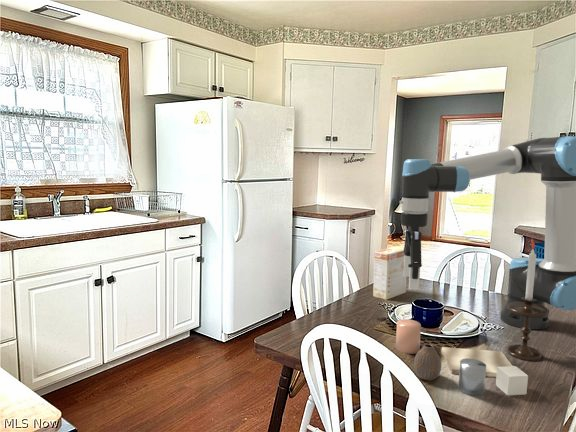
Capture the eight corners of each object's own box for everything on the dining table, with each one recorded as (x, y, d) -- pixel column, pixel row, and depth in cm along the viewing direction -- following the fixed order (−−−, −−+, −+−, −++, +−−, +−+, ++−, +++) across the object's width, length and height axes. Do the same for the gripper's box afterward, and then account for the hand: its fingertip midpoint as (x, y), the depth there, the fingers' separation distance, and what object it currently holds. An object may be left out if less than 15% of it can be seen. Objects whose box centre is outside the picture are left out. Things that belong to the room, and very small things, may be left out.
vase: (409, 371, 118) (411, 340, 117) (433, 370, 119) (435, 339, 118) (419, 384, 112) (420, 351, 110) (445, 383, 112) (447, 351, 111)
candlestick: (497, 345, 135) (506, 235, 130) (532, 346, 135) (542, 235, 130) (514, 362, 124) (524, 242, 119) (552, 363, 124) (564, 242, 119)
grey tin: (480, 385, 111) (482, 359, 111) (487, 397, 106) (489, 370, 105) (456, 383, 112) (457, 357, 111) (461, 395, 106) (463, 368, 106)
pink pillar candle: (417, 344, 135) (419, 320, 134) (421, 354, 128) (422, 328, 127) (394, 342, 136) (395, 318, 135) (396, 352, 130) (398, 327, 128)
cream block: (513, 384, 112) (515, 366, 112) (526, 394, 107) (528, 375, 107) (495, 385, 112) (497, 366, 111) (507, 395, 107) (509, 376, 106)
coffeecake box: (392, 289, 193) (394, 246, 190) (406, 292, 187) (408, 248, 185) (372, 296, 182) (373, 250, 180) (386, 300, 177) (388, 253, 175)
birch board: (501, 355, 128) (501, 351, 128) (518, 378, 115) (519, 374, 115) (441, 350, 131) (441, 347, 131) (451, 373, 117) (452, 369, 117)
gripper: (397, 207, 140) (394, 271, 142) (406, 217, 115) (402, 294, 118) (421, 207, 138) (417, 272, 141) (435, 218, 114) (431, 296, 117)
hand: (410, 282), depth 130 cm, fingers open, 13 cm apart
